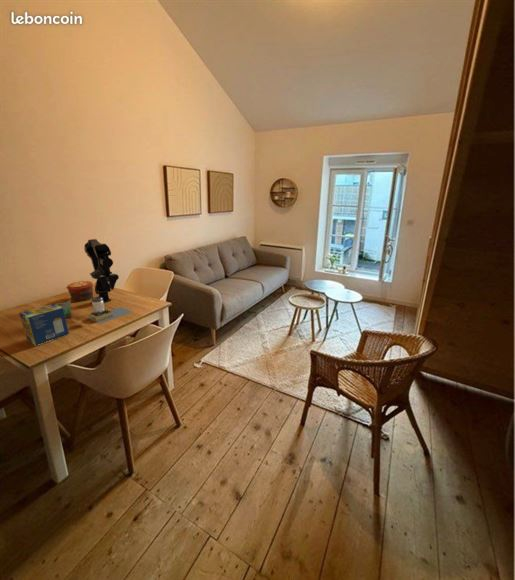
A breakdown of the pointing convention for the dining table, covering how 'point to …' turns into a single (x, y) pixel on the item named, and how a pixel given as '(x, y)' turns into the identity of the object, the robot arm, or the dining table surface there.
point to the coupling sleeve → (98, 306)
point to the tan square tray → (102, 317)
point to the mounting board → (116, 314)
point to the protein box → (44, 323)
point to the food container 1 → (65, 308)
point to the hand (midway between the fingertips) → (108, 288)
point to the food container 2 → (80, 290)
